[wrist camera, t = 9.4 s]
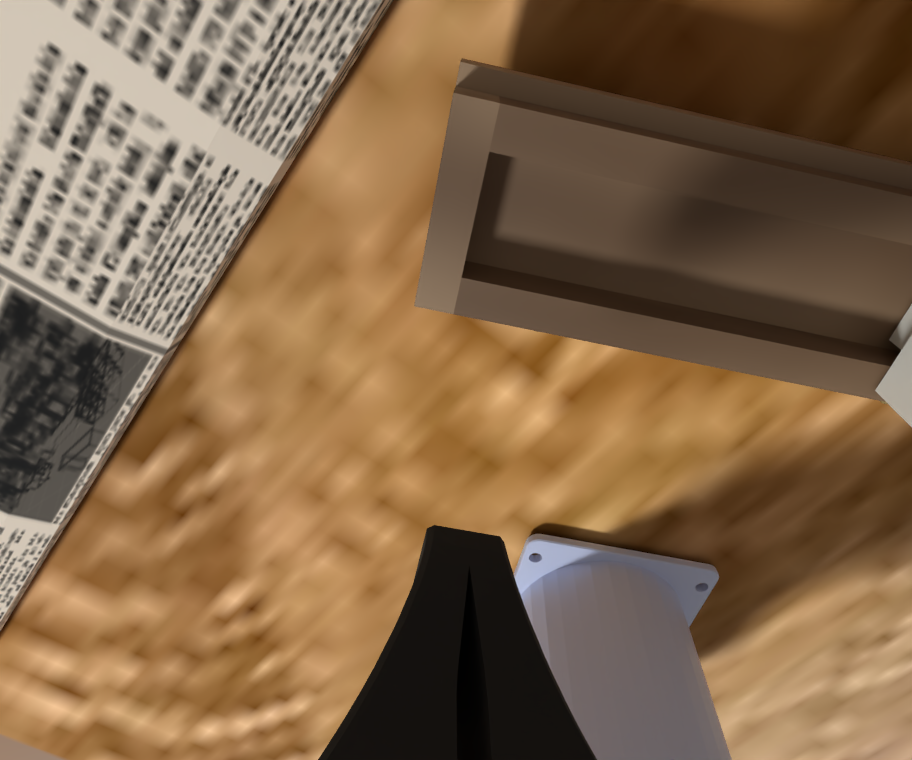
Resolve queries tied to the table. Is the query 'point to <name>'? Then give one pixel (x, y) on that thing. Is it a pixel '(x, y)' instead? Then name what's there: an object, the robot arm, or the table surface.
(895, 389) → the block
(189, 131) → the newspaper
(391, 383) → the table surface
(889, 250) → the beam
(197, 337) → the table surface
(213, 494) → the table surface
